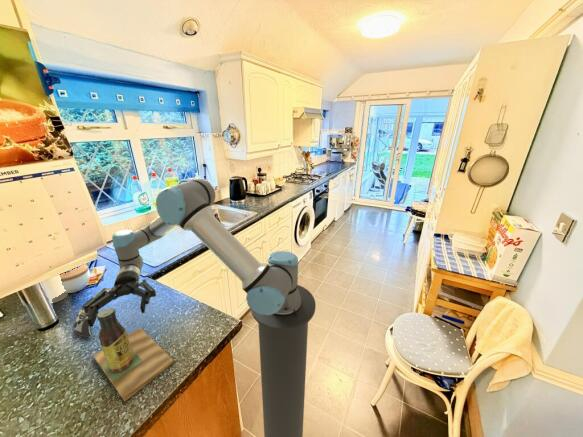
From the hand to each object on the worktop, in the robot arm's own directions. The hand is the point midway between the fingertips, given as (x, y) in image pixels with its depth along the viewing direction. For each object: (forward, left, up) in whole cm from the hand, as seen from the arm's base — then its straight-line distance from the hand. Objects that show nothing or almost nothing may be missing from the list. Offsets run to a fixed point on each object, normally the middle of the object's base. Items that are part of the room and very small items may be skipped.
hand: (117, 316), depth 73 cm
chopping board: (-6, +1, -15) cm, 16 cm away
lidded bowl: (+55, -1, -15) cm, 57 cm away
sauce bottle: (-6, +4, -13) cm, 15 cm away
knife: (+30, +1, -15) cm, 34 cm away
